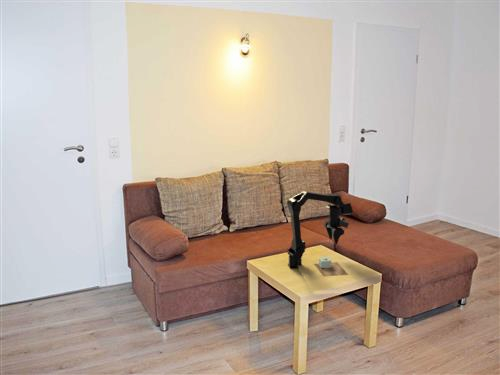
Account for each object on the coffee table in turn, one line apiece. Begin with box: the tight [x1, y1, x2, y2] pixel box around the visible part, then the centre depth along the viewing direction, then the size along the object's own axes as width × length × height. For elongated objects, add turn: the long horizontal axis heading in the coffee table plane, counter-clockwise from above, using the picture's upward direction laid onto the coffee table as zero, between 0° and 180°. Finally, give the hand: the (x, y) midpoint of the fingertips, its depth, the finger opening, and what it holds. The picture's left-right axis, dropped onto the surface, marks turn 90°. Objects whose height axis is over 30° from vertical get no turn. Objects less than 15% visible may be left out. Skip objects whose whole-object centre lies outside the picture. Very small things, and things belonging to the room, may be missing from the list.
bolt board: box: [313, 261, 349, 277], centre depth 247 cm, size 14×18×4 cm
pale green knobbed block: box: [318, 256, 332, 268], centre depth 250 cm, size 6×6×4 cm
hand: (333, 241), depth 259 cm, fingers open, 9 cm apart
